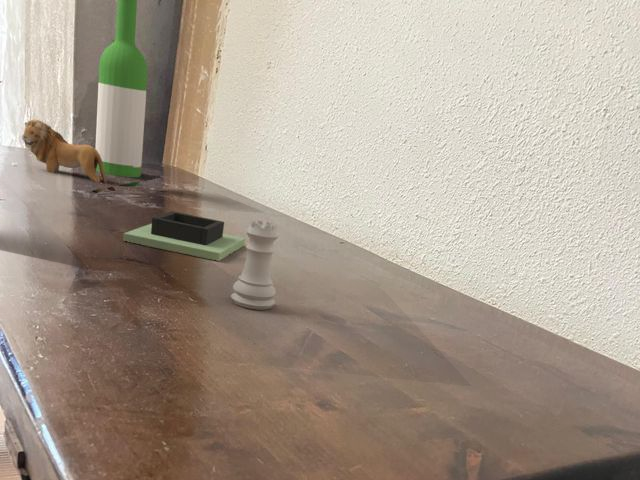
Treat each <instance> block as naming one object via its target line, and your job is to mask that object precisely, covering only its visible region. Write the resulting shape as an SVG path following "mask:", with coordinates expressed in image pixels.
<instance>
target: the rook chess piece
mask: <svg viewBox="0 0 640 480" xmlns="http://www.w3.org/2000/svg"><path fill="white" fill-rule="evenodd" d="M263 223H264V220H260V219H257V220H255V219H251V220H250V225H249V226H248V228H246V229H245V233H246V235H247V237H248V244H247V245H246V246H245V249H246V250H247V251H246V258H245V261H244V265H243V268H242V271H241V274H239V276H238V279H237V280H236V281H235V282H234V284H233V286H232V290H233V291H234V292H233V293H232V294H231V295H230V297H231V299H232V301H233V303H234V304H235V305H237V306H239V307H242V308H246V309H249V310H250V309H251V310H255V311H256V310H258V311H263V310H264V311H265V310H269V309H272V307H274V306H275V305H276V300H275V299H273V298H274V297H276V294H277V291H276V287H274V285H273V284H274V281H273V280H272V257H273V254H274V253H275V248H274V243H275V242H276V241H277V239H278V238H279V237H280V234H279V232H278V231H277V226H278V225H277V223H273V222H270V221H266V222H265V223H266V224H263Z"/></svg>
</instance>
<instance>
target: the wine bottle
mask: <svg viewBox="0 0 640 480" xmlns="http://www.w3.org/2000/svg"><path fill="white" fill-rule="evenodd" d="M137 7H138V0H117V9H116V24H115V25H116V29H115V38H114V41H113V42H112V43H111V44H109V45H108V46H107V47H106V48H105V49H104V51H103V52H102V54H101V56H100V59H99V68H98V82H97V83H98V86H97V104H96V106H97V107H96V126H95V128H96V129H95V147H94V148H95V149H96V150H97V152H98V153H99V155H100V157H101V160H102V163H103V168H104V173H105V175H109V176H115V177H123V178H125V177H126V178H140V177H141V175H142V165H143V164H142V163H143V148H144V147H143V146H144V132H145V120H146V119H145V117H146V103H147V85H148V66H147V61H146V59H145V57H144V55H143V53H142V52H141V50H139V48H138V47H137V45H136V28H137V27H136V26H137V9H138V8H137ZM96 172H98V173H101V172H100V168H99V164H98V165H97V169H96ZM139 184H140V180H139V181H133V182H127V183H123V184H119V185H117V186H119V187H136V186H138V185H139Z"/></svg>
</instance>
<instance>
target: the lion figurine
mask: <svg viewBox="0 0 640 480" xmlns="http://www.w3.org/2000/svg"><path fill="white" fill-rule="evenodd" d="M21 136H22V137H21V139H22V141H23V142H24V143H23V144H24V146H25V147H26V148H27V150H28V151H30V152H31V153H32V154H33V155H34V156H35V158H36V160H37V161H39V162H40V163H42V164H45V167H46V171H47V173H52V174H55V172H59V170H60V166H61V167H64V168H67V169H75V168H80V167H81V168H82V171H83V172H84V173H85V175H86V176H87V177H88V178H89V179H90V180H91V181H92V182H94V183H98V184H99V183H101V178H102V182H103V183H104V184H105V183H108V181H107V178H106V174H105V173H104V168H103V163H102V160H101V157H100V155H99V153H98V152H97V150H96V149H95V147H94V146H92V145H90V144H73V143H68V141H67V140H66V139H65V138H64V137H63V135H62V134H61V133H60V132H58V131H56V130H55V129H53V128H52V126H50V125H48V124H47V123H45V122H44V121H42V120H40V119H30V120H27V122H26V121H25V122H24V129H23V134H22V135H21ZM98 164H99V168H100V172H99V173H100V176H101V178H100V177H99V175H98V174H97V171H96V169H97V165H98ZM107 189H108V190H109V191H110V192H116V189H115V188H114V186H109V187H107ZM101 191H102V189H101V188H99V189H98V188H97V189H93V190H91V192H92V193H93V194H100V193H101Z"/></svg>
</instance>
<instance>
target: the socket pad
mask: <svg viewBox="0 0 640 480" xmlns="http://www.w3.org/2000/svg"><path fill="white" fill-rule="evenodd" d="M224 227H225V222H224V221H222V220H217V219H212V218H207V217H202V216H198V215H192V214H188V213H184V212H178V211H174V210H172V211H169V212H166V213H163V214H159V215H156V216H153V217H152V218H151V223H149V224H146V225H143V226H140V227H138V228H135V229H132V230H129V231H126V232H123V242H125V241H127V242H126V243H130V242H131V243H130V244H134V243H135V245H139V244H140V245H139V246H144V247H149V248H152V249H153V248H154V249H159V250H164V251H167V252H173V253H177V254H182V255H187V256H191V257H192V256H193V257H196V258H202V259H206V260H210V259H211V261H215V260H216V262H220V261H221V260H223V259H225V258H227V257H228V256H230V255H231V254H233V253H235V252H236V251H238V250H240V249H242V248H243V247H245V245H246V238H245V237H241V236H236V235H231V234H228V233H227V234H226V233H224ZM234 251H235V252H234ZM229 254H230V255H229Z"/></svg>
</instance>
